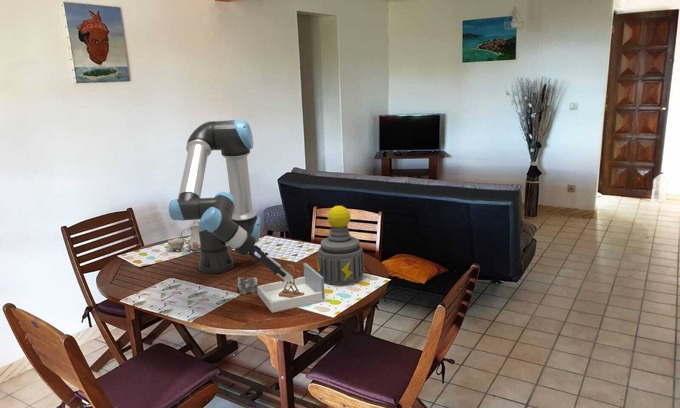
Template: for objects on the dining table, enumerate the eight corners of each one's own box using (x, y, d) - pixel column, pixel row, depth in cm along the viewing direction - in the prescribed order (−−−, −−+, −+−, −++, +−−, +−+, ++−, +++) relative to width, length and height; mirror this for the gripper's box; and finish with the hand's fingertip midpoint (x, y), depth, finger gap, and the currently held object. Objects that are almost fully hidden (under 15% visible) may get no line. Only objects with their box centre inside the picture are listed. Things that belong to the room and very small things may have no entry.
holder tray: (257, 294, 189) (256, 272, 187) (307, 284, 197) (305, 263, 195) (271, 312, 173) (270, 288, 171) (324, 300, 181) (323, 277, 179)
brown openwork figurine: (278, 296, 184) (276, 265, 182) (283, 292, 188) (281, 262, 185) (299, 299, 181) (298, 267, 179) (304, 294, 185) (302, 264, 182)
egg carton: (238, 285, 200) (237, 276, 199) (257, 283, 201) (256, 274, 200) (238, 295, 190) (237, 285, 189) (258, 293, 191) (257, 283, 190)
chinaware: (216, 242, 264) (212, 211, 262) (230, 246, 251) (225, 213, 249) (164, 254, 247) (158, 222, 245) (176, 259, 234) (170, 224, 232)
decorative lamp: (324, 289, 192) (320, 213, 185) (313, 272, 210) (310, 203, 203) (370, 282, 197) (368, 208, 190) (356, 267, 214) (354, 199, 208)
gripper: (225, 240, 183) (267, 271, 192) (242, 260, 161) (289, 294, 170) (238, 224, 184) (280, 255, 193) (257, 241, 162) (303, 276, 171)
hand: (284, 273), depth 182 cm, fingers open, 13 cm apart
